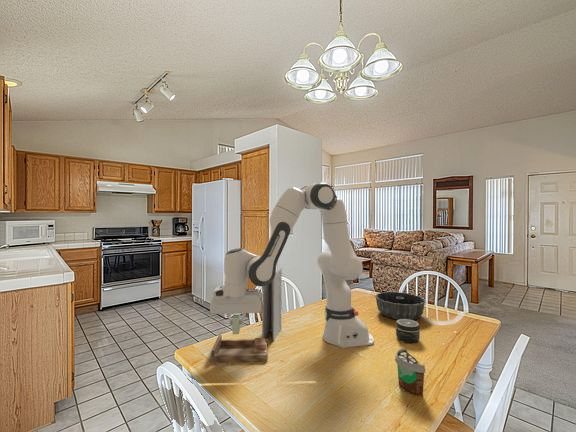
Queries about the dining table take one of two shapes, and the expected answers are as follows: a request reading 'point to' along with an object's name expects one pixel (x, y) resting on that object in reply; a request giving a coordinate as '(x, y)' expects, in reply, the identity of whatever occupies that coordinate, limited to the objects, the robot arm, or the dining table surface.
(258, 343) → the offcut
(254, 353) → the offcut
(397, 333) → the jar
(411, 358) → the food container
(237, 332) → the pale green brick
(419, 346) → the dining table surface
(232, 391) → the dining table surface
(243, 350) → the tray
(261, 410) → the dining table surface
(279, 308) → the brochure
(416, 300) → the bundt pan
